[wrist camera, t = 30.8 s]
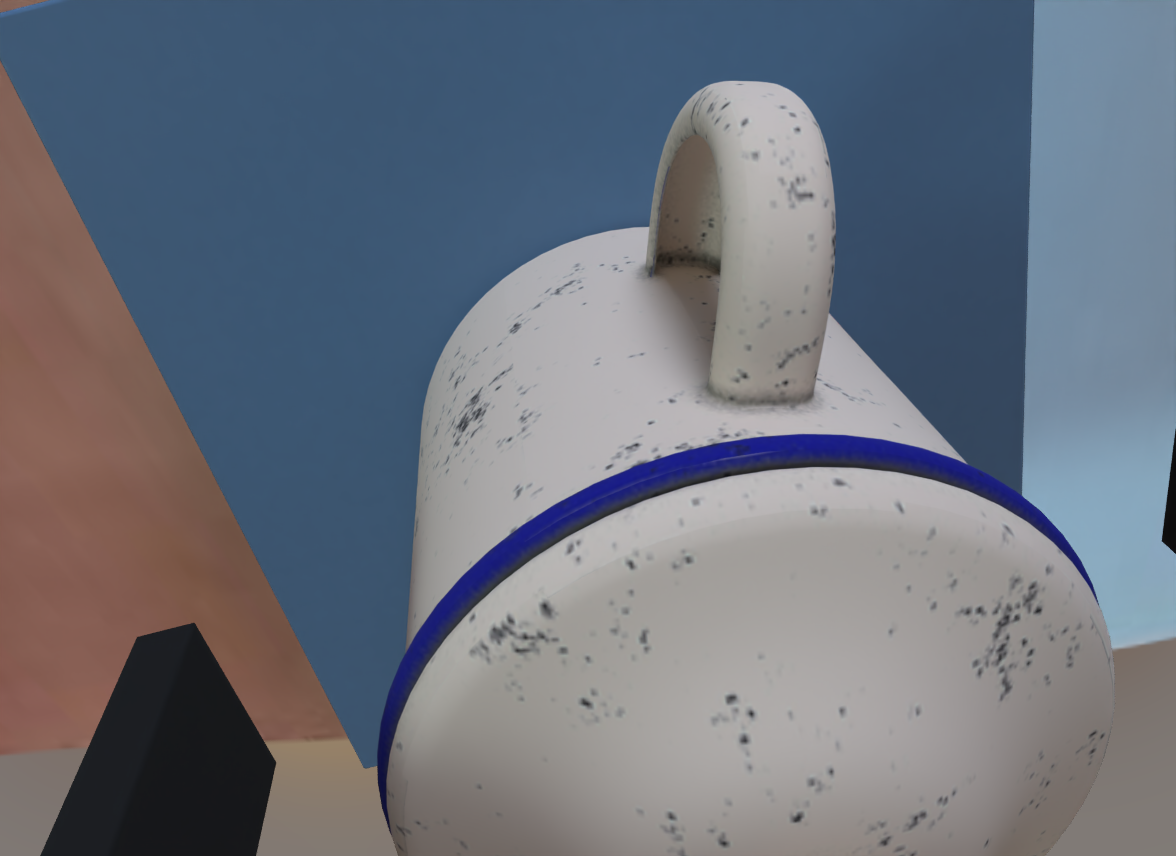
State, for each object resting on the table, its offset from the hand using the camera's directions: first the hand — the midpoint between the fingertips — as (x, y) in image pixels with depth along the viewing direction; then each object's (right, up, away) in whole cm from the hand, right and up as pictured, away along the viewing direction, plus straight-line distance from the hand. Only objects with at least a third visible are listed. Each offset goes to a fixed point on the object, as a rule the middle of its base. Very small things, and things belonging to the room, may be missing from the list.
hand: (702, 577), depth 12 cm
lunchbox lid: (-1, +3, +7) cm, 7 cm away
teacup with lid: (-1, +3, +6) cm, 7 cm away
